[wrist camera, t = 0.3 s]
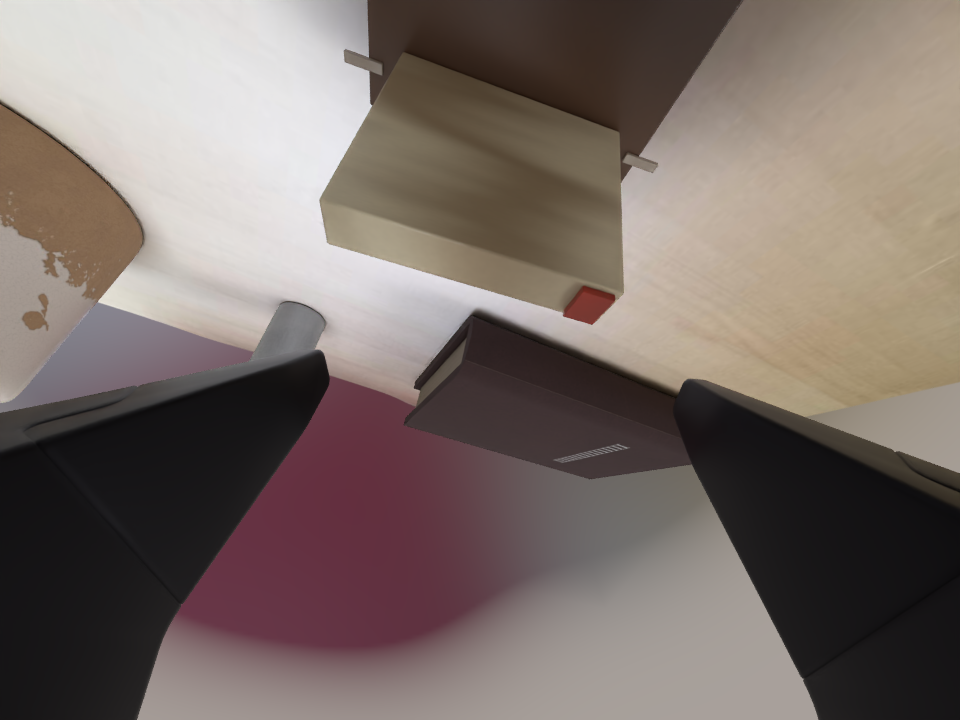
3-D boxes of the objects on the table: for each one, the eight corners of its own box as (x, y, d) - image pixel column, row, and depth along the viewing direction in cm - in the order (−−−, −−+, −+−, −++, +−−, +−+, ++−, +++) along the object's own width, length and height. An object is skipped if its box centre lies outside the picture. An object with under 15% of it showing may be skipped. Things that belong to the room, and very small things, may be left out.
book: (712, 405, 39) (720, 460, 36) (590, 439, 55) (590, 479, 52) (477, 306, 30) (464, 368, 28) (415, 381, 47) (403, 425, 44)
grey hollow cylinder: (335, 326, 37) (294, 420, 33) (304, 330, 39) (261, 419, 34) (301, 298, 34) (250, 399, 29) (269, 304, 36) (216, 400, 31)
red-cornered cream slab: (400, 98, 14) (323, 250, 10) (402, 50, 13) (314, 205, 9) (598, 168, 15) (595, 329, 11) (620, 131, 14) (625, 300, 10)
